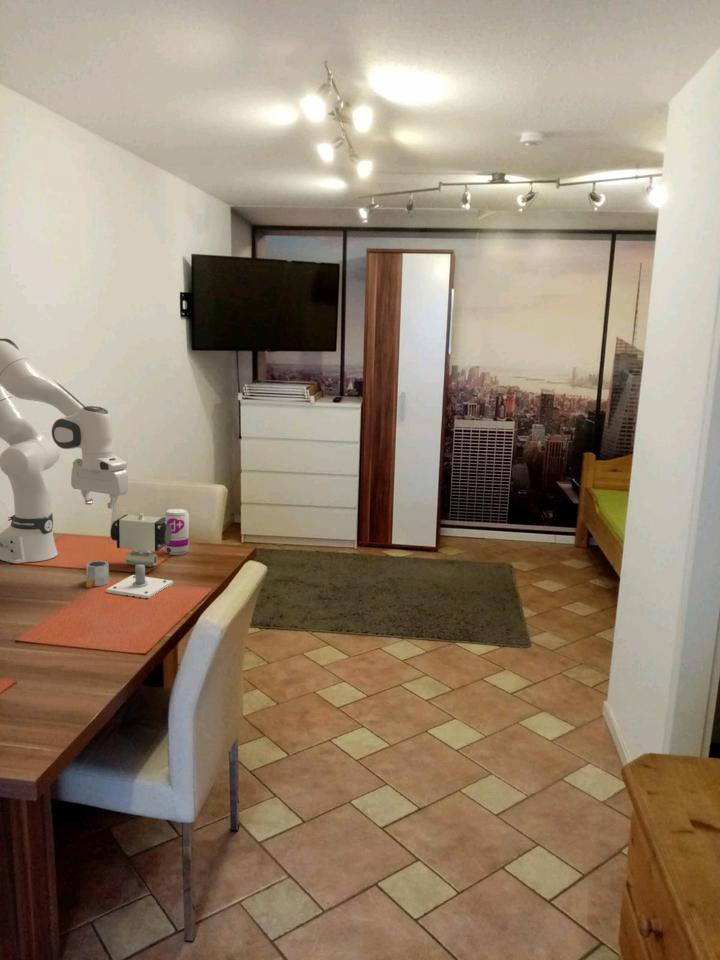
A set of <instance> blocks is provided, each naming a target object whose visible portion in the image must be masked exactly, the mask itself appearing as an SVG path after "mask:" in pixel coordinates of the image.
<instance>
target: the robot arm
mask: <svg viewBox="0 0 720 960" xmlns="http://www.w3.org/2000/svg"><path fill="white" fill-rule="evenodd" d="M16 398H17V399H20V400H26V401H33V402H39V403H44V404H47V405H51V406H52V407H54V408H56V410H58V411H59V412H60V413H61V414H63V417H61V418H58V419H57V420H55V421H54V423H53V424H52V427H51V437H52V439H53V440H52V439H50V438H49V437H47V436H46V435H45V434H43V432H42V431H41V430H39V428H37V427H36V426H35V425H34V423H33V422H32V421H31V420H30V419H29V418H28V416H26V414H25V412H24V411H23V409H22V408H21V406H20V404H19V403H18V401H17V400H16ZM0 439H1V440H3V441H4V442H6V444H8V445H9V447H7V448H6V449H5V450H3V452H2V453H1V454H0V469H1V471H2V473H4V475H6V476H7V478H8V480H9V484H10V486H11V490H12V493H13V502H14V503H13V505H14V514H13V515H12V516H10V517H9V516H8V520H7V521H8V522H11V523H10V525H9V526H8V527H7V528H5V529H4V530H3V531H2V532H0V560H1V561H5V562H7V563H12V564H22V563H33V562H43V561H47V560H51V559H54V558H55V557H57V556H58V554H59V552H58V550H57V549H58V548H57V547H56V542H55V537H54V532H53V528H54V526H53V525H54V518H53V517H54V515H53V512H52V502H51V501H52V500H51V499H52V498H51V497H52V496H51V491H50V489H49V487H47V486H46V483H45V481H44V477H43V472H44V471H47V470H49V469H50V468H52V467H53V466H54V465H55V464H56V463H57V462H58V460H59V459H60V456H61V451H60V448H61V449H64V450H74V449H81V458H76V459H75V460H74V461H73V462H72V468H71V476H70V477H71V479H70V485H71V487H72V489H74V490H75V489H76V490H80V492H81V493H80V494H81V496H82V497H83V499H84V505H86V506H90V505H93V503H94V502H93V500H94V499H93V498H92V497H91V495H90V492H94V493H98V494H99V493H100V494H105V495H109V499H110V500H109V502H107V509H111V510H114V509H115V508H116V506H117V505H116V502H117V500H118V499H119V496H123V495H126V494H127V493H128V492H129V476H128V473H127V471H126V468H127V466H128V463H127V461H125V460H124V459H122V458H121V457H119V456H117V455H115V454H114V448H113V445H112V441H113V426H112V418H111V415H110V413H109V411H108V410H107V409H106V408H104V407H101V406H93V405H84V404H83V403H82V402H81V401H80V400H78V399H77V398H76V397H75V396H74V395H73V394H72V393H71V392H70V391H68V390H67V389H66V388H65V387H63V385H61V384H60V383H58V382H57V381H56V380H54V379H52V378H51V377H49V376H48V375H47V374H45V373H44V372H43V371H42V370H40V368H38V367H37V366H36V365H35V364H34V363H33V362H32V361H31V360H30V359H29V358H28V357H27V356H26V355H25V354H24V353H23V352H21V350H20V349H19V347H18V345H17V344H16V343H15V342H14V341H12V339H9V338H0Z"/></svg>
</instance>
